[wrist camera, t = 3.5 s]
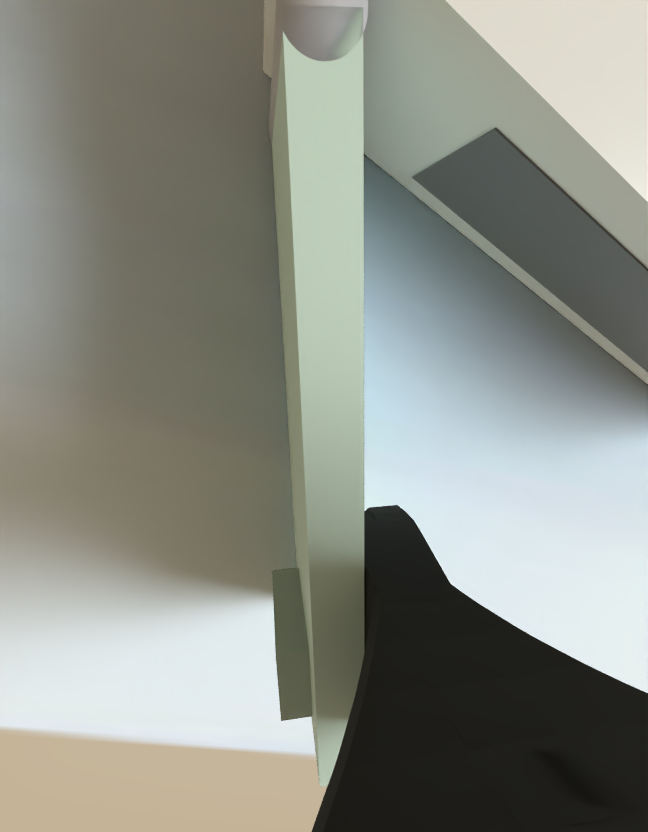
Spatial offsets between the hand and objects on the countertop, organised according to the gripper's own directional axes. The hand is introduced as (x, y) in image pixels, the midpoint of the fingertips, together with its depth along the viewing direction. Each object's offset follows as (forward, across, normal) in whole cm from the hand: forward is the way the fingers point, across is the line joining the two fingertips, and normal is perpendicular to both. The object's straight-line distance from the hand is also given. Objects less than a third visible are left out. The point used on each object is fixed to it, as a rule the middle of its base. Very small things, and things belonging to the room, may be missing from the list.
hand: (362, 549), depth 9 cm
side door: (+2, +1, -3) cm, 4 cm away
